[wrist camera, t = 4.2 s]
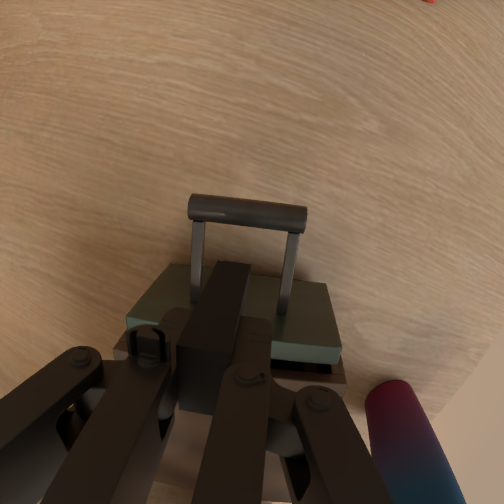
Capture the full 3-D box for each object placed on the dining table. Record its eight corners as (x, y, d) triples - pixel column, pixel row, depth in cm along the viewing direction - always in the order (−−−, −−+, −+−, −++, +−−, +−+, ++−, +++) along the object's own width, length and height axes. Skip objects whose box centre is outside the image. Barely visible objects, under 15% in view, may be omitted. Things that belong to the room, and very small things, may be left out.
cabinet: (166, 277, 25) (112, 348, 16) (328, 299, 24) (347, 384, 15) (171, 405, 30) (143, 478, 21) (294, 423, 29) (294, 503, 20)
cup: (368, 429, 29) (390, 550, 15) (345, 394, 27) (366, 537, 13) (426, 401, 27) (470, 518, 13) (410, 361, 26) (466, 498, 12)
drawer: (172, 178, 21) (119, 199, 14) (341, 197, 21) (372, 229, 13) (173, 394, 28) (148, 456, 21) (294, 411, 27) (294, 479, 20)
